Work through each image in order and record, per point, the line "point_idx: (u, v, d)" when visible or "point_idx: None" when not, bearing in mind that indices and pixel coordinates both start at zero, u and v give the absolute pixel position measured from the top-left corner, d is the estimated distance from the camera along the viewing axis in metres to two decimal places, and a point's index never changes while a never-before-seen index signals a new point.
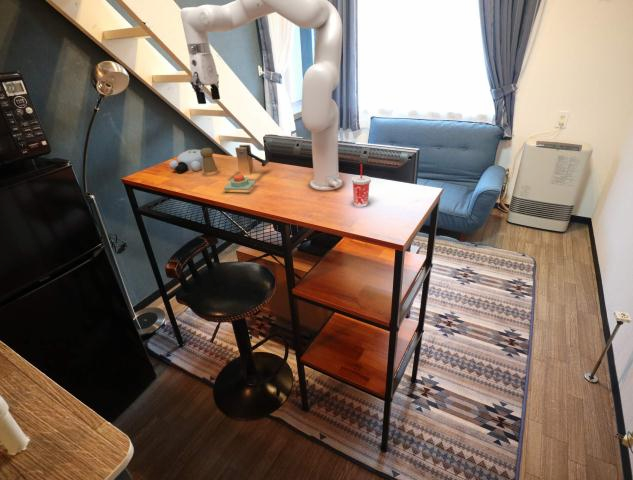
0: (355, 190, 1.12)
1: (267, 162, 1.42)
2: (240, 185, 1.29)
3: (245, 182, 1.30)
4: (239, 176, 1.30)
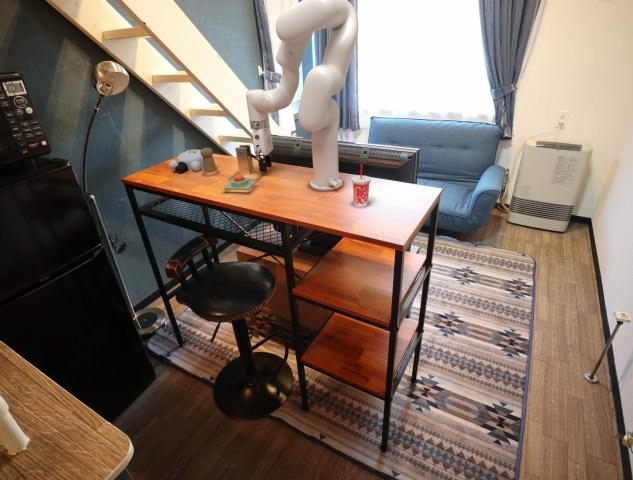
0: (355, 190, 1.12)
1: (267, 162, 1.42)
2: (240, 185, 1.29)
3: (245, 182, 1.30)
4: (239, 176, 1.30)
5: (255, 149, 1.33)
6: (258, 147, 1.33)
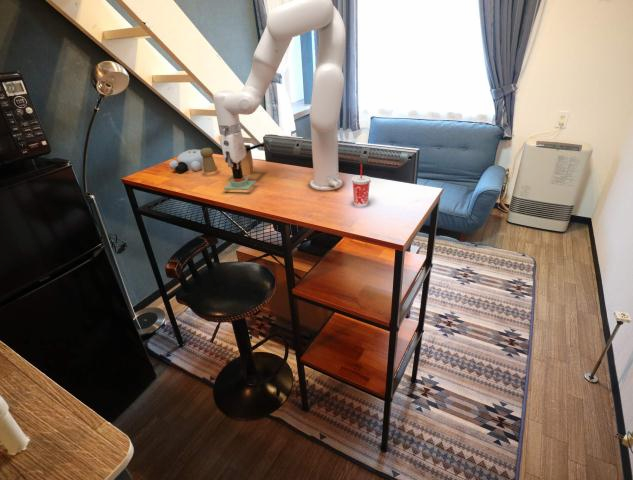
0: (355, 190, 1.12)
1: (266, 141, 1.37)
2: (240, 185, 1.29)
3: (245, 182, 1.30)
4: None
5: (224, 156, 1.22)
6: (228, 155, 1.22)
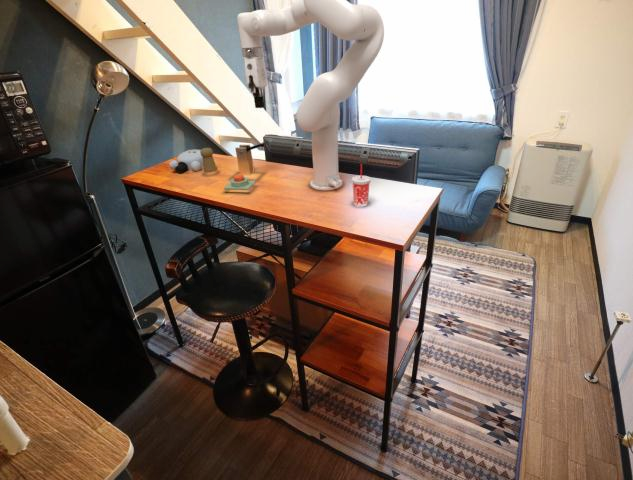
0: (355, 190, 1.12)
1: (266, 141, 1.37)
2: (240, 185, 1.29)
3: (245, 182, 1.30)
4: (239, 176, 1.30)
5: (248, 81, 1.24)
6: (252, 80, 1.24)
